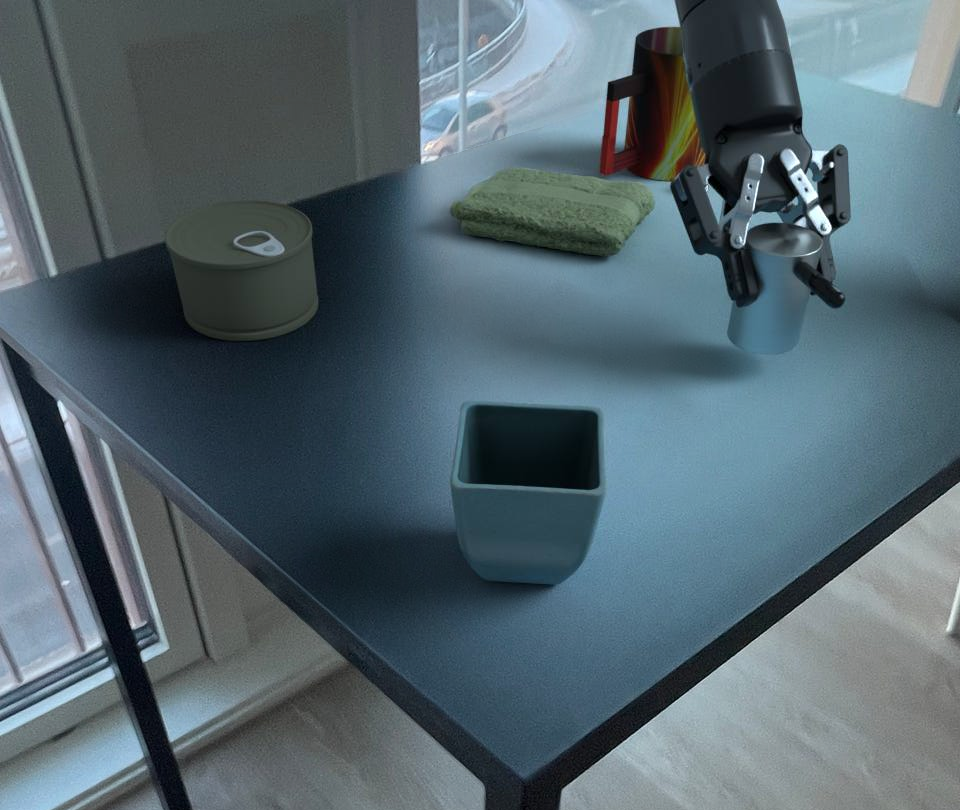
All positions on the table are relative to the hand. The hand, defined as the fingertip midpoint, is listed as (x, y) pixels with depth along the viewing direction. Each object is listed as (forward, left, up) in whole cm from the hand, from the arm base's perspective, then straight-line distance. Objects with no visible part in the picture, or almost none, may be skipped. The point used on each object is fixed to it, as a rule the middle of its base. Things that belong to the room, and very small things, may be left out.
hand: (785, 296), depth 76 cm
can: (+28, -35, -7) cm, 45 cm away
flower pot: (+30, +5, -7) cm, 31 cm away
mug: (-22, -35, -7) cm, 42 cm away
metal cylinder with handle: (0, +1, -4) cm, 4 cm away
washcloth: (-4, -32, -7) cm, 33 cm away
